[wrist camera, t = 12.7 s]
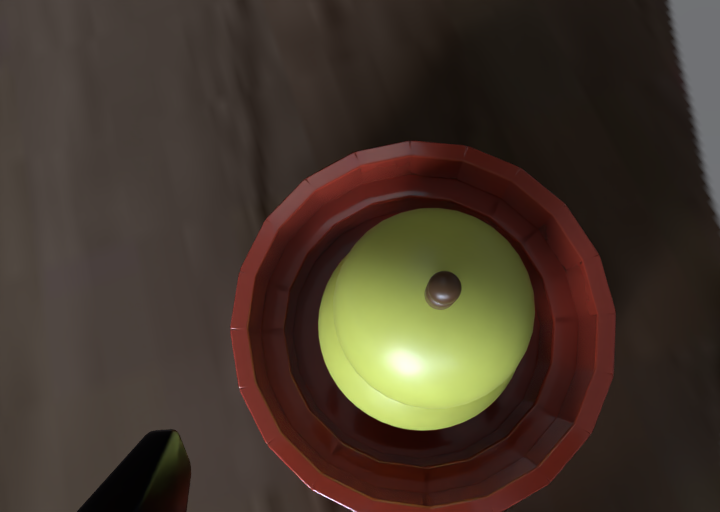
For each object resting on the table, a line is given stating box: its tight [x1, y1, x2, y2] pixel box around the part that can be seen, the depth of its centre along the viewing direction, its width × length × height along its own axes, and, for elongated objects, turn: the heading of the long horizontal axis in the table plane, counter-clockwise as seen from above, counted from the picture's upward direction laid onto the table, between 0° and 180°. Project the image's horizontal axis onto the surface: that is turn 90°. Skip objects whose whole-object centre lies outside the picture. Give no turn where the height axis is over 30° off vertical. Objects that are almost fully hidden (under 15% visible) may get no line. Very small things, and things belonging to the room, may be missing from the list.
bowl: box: [230, 140, 616, 512], centre depth 21 cm, size 12×12×4 cm
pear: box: [318, 208, 535, 431], centre depth 16 cm, size 7×7×12 cm
